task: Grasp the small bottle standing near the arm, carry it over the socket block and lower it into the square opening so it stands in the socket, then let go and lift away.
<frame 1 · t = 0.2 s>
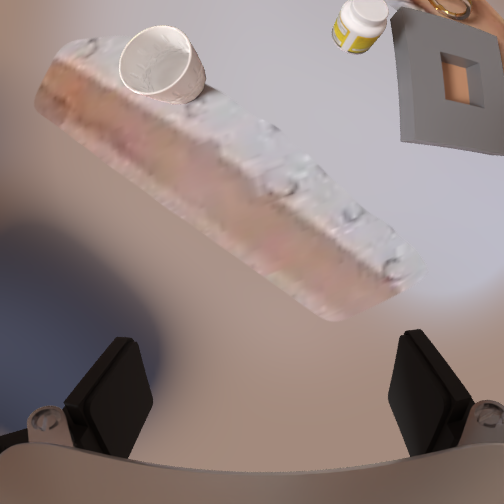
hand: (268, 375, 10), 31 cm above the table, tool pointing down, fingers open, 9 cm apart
ring: (437, 10, 30), on the table
supplement bottle: (350, 38, 33), on the table
white cup: (181, 81, 36), on the table
socket block: (447, 85, 33), on the table
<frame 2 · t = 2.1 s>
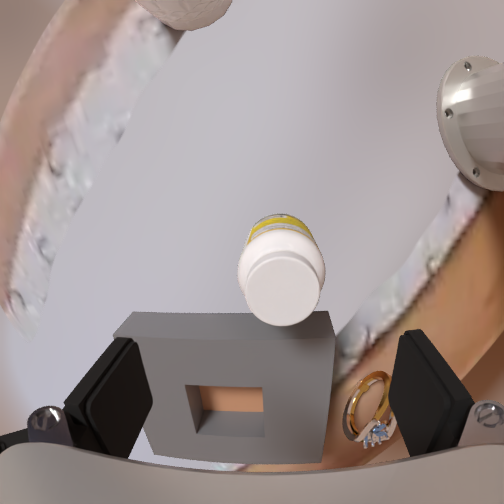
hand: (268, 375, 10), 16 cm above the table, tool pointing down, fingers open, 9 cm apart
ring: (361, 381, 29), on the table
supplement bottle: (280, 244, 26), on the table
white cup: (194, 1, 21), on the table
socket block: (232, 383, 30), on the table
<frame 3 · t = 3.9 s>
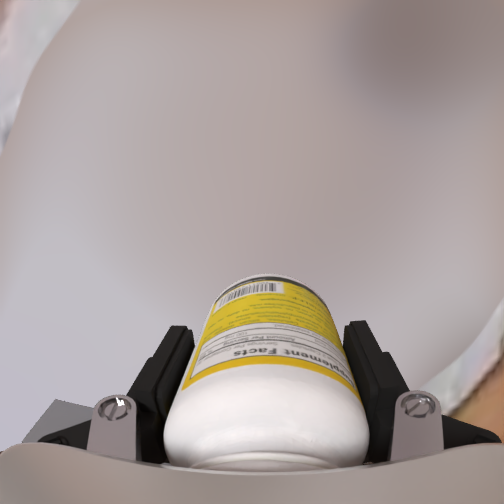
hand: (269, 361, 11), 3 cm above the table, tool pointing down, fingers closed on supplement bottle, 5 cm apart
supplement bottle: (270, 326, 14), on the table, touching gripper
socket block: (203, 491, 18), on the table
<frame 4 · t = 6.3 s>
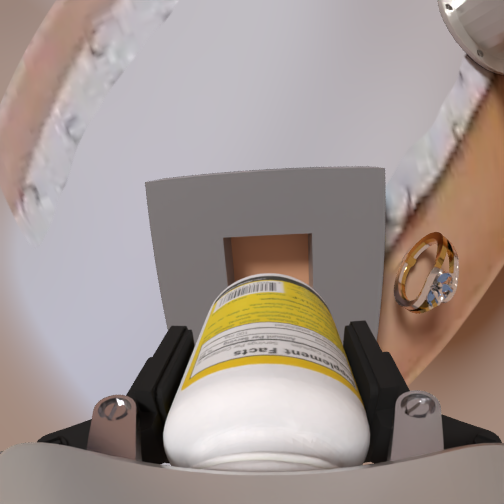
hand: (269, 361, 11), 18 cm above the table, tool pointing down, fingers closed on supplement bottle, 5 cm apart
ring: (406, 257, 28), on the table
supplement bottle: (270, 326, 14), point 15 cm above the table, touching gripper
socket block: (270, 259, 29), on the table
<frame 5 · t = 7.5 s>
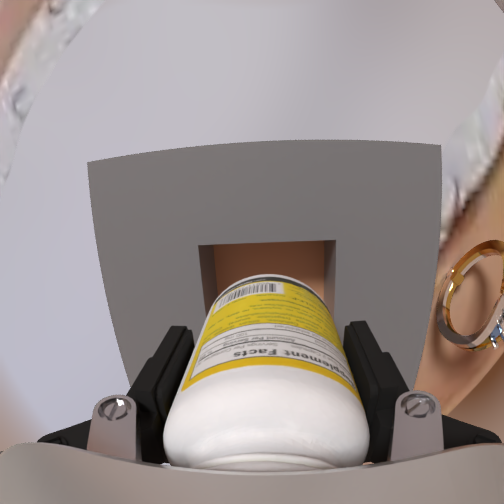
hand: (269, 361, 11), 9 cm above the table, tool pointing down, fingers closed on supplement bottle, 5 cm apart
ring: (450, 273, 20), on the table
supplement bottle: (270, 327, 14), point 7 cm above the table, touching gripper
socket block: (270, 276, 20), on the table
when the fingers open (6 cm above the table, at t = 8.7 s): supplement bottle drops 3 cm, resting on socket block.
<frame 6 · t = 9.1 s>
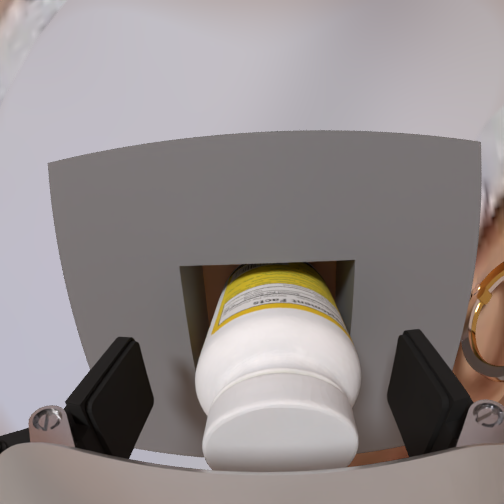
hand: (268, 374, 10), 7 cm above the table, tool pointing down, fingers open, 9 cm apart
ring: (476, 289, 16), on the table
supplement bottle: (276, 299, 16), point 1 cm above the table, touching socket block
socket block: (270, 297, 17), on the table
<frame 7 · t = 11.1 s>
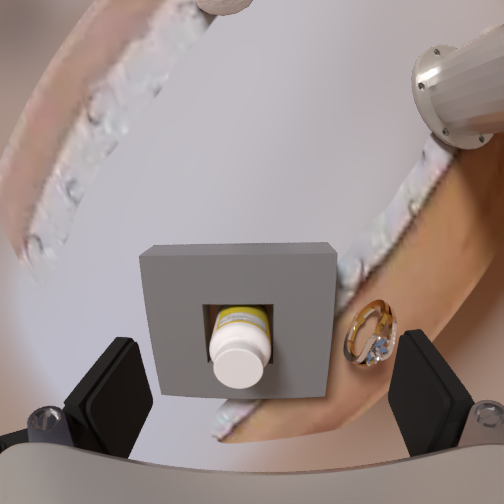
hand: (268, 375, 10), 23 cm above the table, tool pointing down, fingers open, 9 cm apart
ring: (358, 315, 34), on the table
supplement bottle: (243, 317, 34), point 1 cm above the table, touching socket block
socket block: (241, 316, 35), on the table
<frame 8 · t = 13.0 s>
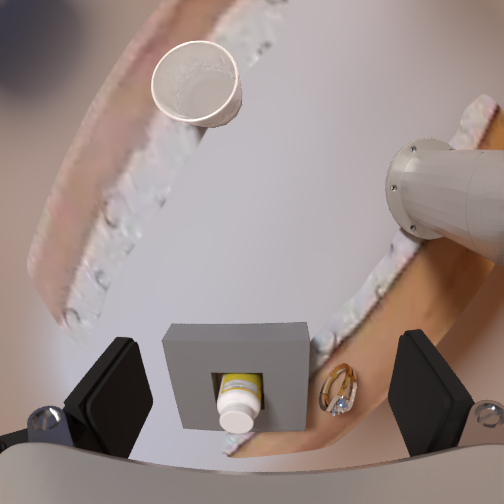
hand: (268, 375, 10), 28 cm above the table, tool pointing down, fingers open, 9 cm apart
ring: (332, 371, 43), on the table
supplement bottle: (243, 374, 43), point 1 cm above the table, touching socket block
white cup: (213, 100, 34), on the table
socket block: (241, 372, 44), on the table
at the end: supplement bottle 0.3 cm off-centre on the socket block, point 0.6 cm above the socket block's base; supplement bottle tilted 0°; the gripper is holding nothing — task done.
